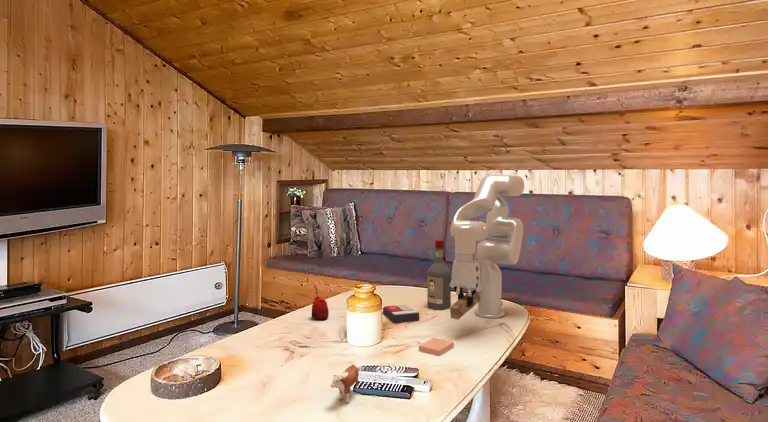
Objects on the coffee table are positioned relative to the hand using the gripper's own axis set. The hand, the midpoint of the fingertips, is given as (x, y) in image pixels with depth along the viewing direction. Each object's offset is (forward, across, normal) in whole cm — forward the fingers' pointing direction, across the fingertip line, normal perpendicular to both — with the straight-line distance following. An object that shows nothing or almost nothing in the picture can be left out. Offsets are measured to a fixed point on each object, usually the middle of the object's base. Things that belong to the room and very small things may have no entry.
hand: (465, 304), depth 193 cm
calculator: (+12, +31, -2) cm, 33 cm away
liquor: (+12, +26, -24) cm, 38 cm away
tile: (+9, 0, +17) cm, 19 cm away
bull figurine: (+8, +1, +69) cm, 69 cm away
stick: (+2, 0, 0) cm, 2 cm away
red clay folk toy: (+10, +57, +20) cm, 61 cm away
